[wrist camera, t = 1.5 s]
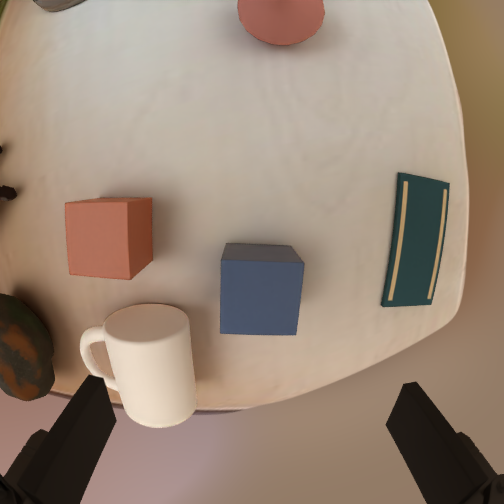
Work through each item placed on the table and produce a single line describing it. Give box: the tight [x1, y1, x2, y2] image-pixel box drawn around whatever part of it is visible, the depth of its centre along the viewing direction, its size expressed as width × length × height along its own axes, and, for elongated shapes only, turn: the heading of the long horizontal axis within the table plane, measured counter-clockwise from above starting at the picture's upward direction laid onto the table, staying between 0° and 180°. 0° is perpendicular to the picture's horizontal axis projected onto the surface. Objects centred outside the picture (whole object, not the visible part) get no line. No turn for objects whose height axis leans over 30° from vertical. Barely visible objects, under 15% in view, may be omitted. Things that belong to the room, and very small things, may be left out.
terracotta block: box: [65, 198, 153, 280], centre depth 23 cm, size 6×6×6 cm
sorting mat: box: [381, 173, 450, 307], centre depth 26 cm, size 14×7×1 cm, turn 177°
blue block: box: [220, 243, 304, 335], centre depth 24 cm, size 6×6×6 cm
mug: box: [80, 304, 197, 428], centre depth 24 cm, size 12×10×8 cm
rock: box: [0, 293, 55, 401], centre depth 23 cm, size 14×11×10 cm
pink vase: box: [238, 0, 325, 45], centre depth 16 cm, size 8×8×12 cm
